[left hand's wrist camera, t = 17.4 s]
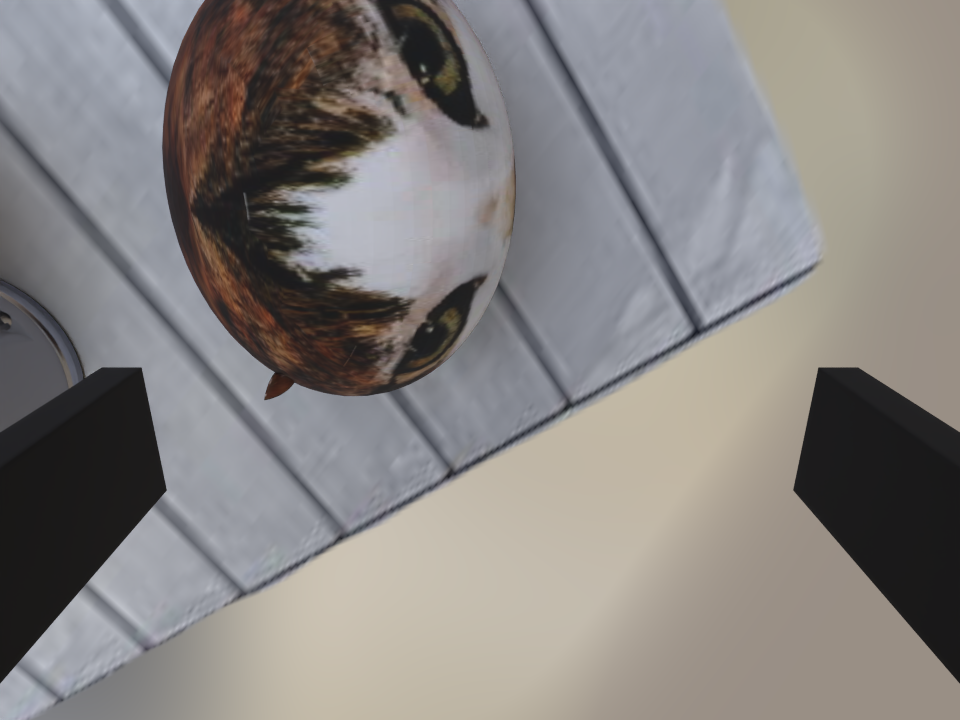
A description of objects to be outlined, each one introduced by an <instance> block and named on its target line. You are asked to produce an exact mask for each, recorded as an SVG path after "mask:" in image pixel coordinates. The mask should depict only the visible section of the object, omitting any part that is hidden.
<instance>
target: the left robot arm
mask: <svg viewBox="0 0 960 720" xmlns="http://www.w3.org/2000/svg"><path fill="white" fill-rule="evenodd" d="M166 490H167V489H166V484H165V480H164V475H163V470H162V465H161V460H160V455H159V450H158V446H157V441H156V436H155V431H154V426H153V421H152V416H151V412H150V407H149V402H148V397H147V392H146V387H145V382H144V378H143V373H142V368H101V369H99V370H97V371H96V372H94V373H93V374H91V375H90V376H88V377H86V378H85V379H83V373H82V369H81V366H80V362H79V360H78V357H77V355H76V352H75V350H74V348H73V346H72V344H71V342H70V341H69V339H68V337H67V336H66V334H65V333H64V331H63V330H62V329H61V327H60V326H59V325H58V323H57V322H56V321H55V320H54V319H53V317H52V316H51V315H50V314H49V313H48V312H47V311H46V310H45V309H44V308H43V307H41V306H40V305H39V304H38V303H37V302H36V301H34V300H33V299H32V298H30V297H29V296H28V295H26V294H25V293H23V292H22V291H20V290H19V289H17V288H16V287H14V286H12V285H10V284H8V283H6V282H4V281H2V280H0V683H1V682H2V681H3V680H4V678H5V677H6V676H7V675H8V674H9V673H10V671H11V670H12V669H13V668H14V667H15V666H16V664H17V663H18V662H19V661H20V660H21V659H22V658H23V656H24V655H25V654H26V653H27V652H28V651H29V649H30V648H31V647H32V646H33V645H34V644H35V642H36V641H37V640H38V639H39V638H40V637H41V635H42V634H43V633H44V632H45V631H46V630H47V629H48V627H49V626H50V625H51V624H52V623H53V622H54V620H55V619H56V618H57V617H58V616H59V615H60V613H61V612H62V611H63V610H64V609H65V608H66V606H67V605H68V604H69V603H70V602H71V601H72V600H73V598H74V597H75V596H76V595H77V594H78V593H79V591H80V590H81V589H82V588H83V587H84V586H85V584H86V583H87V582H88V581H89V580H90V579H91V577H92V576H93V575H94V574H95V573H96V572H97V571H98V569H99V568H100V567H101V566H102V565H103V564H104V562H105V561H106V560H107V559H108V558H109V557H110V555H111V554H112V553H113V552H114V551H115V550H116V548H117V547H118V546H119V545H120V544H121V543H122V542H123V540H124V539H125V538H126V537H127V536H128V535H129V533H130V532H131V531H132V530H133V529H134V528H135V526H136V525H137V524H138V523H139V522H140V521H141V519H142V518H143V517H144V516H145V515H146V514H147V512H148V511H149V510H150V509H151V508H152V507H153V506H154V504H155V503H156V502H157V501H158V500H159V499H160V497H161V496H162V495H163V494H164V493H165V492H166ZM793 490H794V492H795V493H796V494H797V495H798V496H799V497H800V499H801V500H802V501H803V502H804V503H805V504H806V506H807V507H808V508H809V509H810V510H811V511H812V512H813V514H814V515H815V516H816V517H817V518H818V519H819V521H820V522H821V523H822V524H823V525H824V526H825V528H826V529H827V530H828V531H829V532H830V533H831V535H832V536H833V537H834V538H835V539H836V540H837V542H838V543H839V544H840V545H841V546H842V547H843V548H844V550H845V551H846V552H847V553H848V554H849V555H850V557H851V558H852V559H853V560H854V561H855V562H856V563H857V565H858V566H859V567H860V568H861V569H862V571H863V572H864V573H865V574H866V575H867V576H868V577H869V579H870V580H871V581H872V582H873V583H874V584H875V586H876V587H877V588H878V589H879V590H880V591H881V593H882V594H883V595H884V596H885V597H886V598H887V600H888V601H889V602H890V603H891V604H892V605H893V606H894V608H895V609H896V610H897V611H898V612H899V613H900V615H901V616H902V617H903V618H904V619H905V620H906V622H907V623H908V624H909V625H910V626H911V627H912V628H913V630H914V631H915V632H916V633H917V634H918V635H919V637H920V638H921V639H922V640H923V641H924V642H925V644H926V645H927V646H928V647H929V648H930V649H931V650H932V652H933V653H934V654H935V655H936V656H937V658H938V659H939V660H940V661H941V662H942V663H943V664H944V666H945V667H946V668H947V669H948V670H949V671H950V673H951V674H952V675H953V676H954V677H955V678H956V680H957V681H958V682H959V683H960V432H958V431H957V430H955V429H954V428H952V427H950V426H949V425H947V424H946V423H944V422H943V421H941V420H939V419H938V418H936V417H935V416H933V415H932V414H930V413H929V412H927V411H925V410H924V409H922V408H921V407H919V406H918V405H916V404H914V403H913V402H911V401H910V400H908V399H907V398H905V397H903V396H902V395H900V394H899V393H897V392H896V391H894V390H892V389H891V388H889V387H888V386H886V385H885V384H883V383H881V382H880V381H878V380H877V379H875V378H874V377H872V376H870V375H869V374H867V373H866V372H864V371H863V370H861V369H859V368H818V373H817V378H816V382H815V387H814V392H813V397H812V402H811V407H810V412H809V416H808V421H807V426H806V431H805V436H804V441H803V446H802V450H801V455H800V460H799V465H798V470H797V475H796V480H795V484H794V489H793Z"/></svg>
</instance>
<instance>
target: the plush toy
mask: <svg viewBox="0 0 960 720" xmlns="http://www.w3.org/2000/svg"><path fill="white" fill-rule="evenodd" d="M162 149H163V169H164V178H165V186H166V193H167V199H168V204H169V209H170V214H171V218H172V222H173V225H174V229H175V232H176V235H177V239H178V242H179V245H180V248H181V250H182V253H183V256H184V258H185V261H186V264H187V266H188V268H189V270H190V272H191V274H192V276H193V279H194V281H195V283H196V284H197V286H198V288H199V290H200V292H201V293H202V295H203V297H204V298H205V300H206V302H207V303H208V305H209V307H210V308H211V310H212V311H213V312H214V314H215V315H216V316H217V318H218V319H219V321H220V322H221V323H222V324H223V326H224V327H225V328H226V329H227V331H228V332H229V333H230V334H231V335H232V336H233V337H234V339H235V340H236V341H237V342H238V343H239V344H240V345H241V346H243V347H244V348H245V349H246V350H247V351H248V352H249V353H250V354H251V355H252V356H253V357H255V358H256V359H257V360H258V361H260V362H261V363H262V364H264V365H265V366H266V367H268V368H269V369H271V370H272V371H274V372H275V373H274V375H273V376H272V378H271V380H270V382H269V384H268V387H267V390H266V393H265V399H264V400H268V399H271V398H274V397H277V396H279V395H281V394H283V393H284V392H286V391H287V390H288V389H289V388H290V387H291V386H292V385H293V384H294V383H297V384H299V385H301V386H304V387H306V388H309V389H312V390H316V391H319V392H323V393H328V394H334V395H342V396H368V395H374V394H380V393H385V392H390V391H393V390H395V389H398V388H401V387H404V386H406V385H409V384H411V383H413V382H415V381H417V380H419V379H421V378H422V377H424V376H426V375H427V374H429V373H431V372H432V371H433V370H435V369H436V368H437V367H439V366H440V365H441V364H442V363H444V362H445V361H446V360H447V359H448V358H449V357H450V356H451V355H452V354H453V353H454V352H455V351H456V350H457V349H458V348H459V347H460V346H461V345H462V344H463V343H464V342H465V340H466V339H467V338H468V336H469V335H470V334H471V332H472V331H473V329H474V328H475V327H476V325H477V324H478V322H479V321H480V319H481V317H482V316H483V314H484V312H485V310H486V309H487V307H488V305H489V303H490V301H491V299H492V296H493V294H494V292H495V290H496V288H497V285H498V282H499V280H500V277H501V274H502V271H503V268H504V264H505V261H506V257H507V253H508V249H509V245H510V240H511V235H512V229H513V221H514V213H515V197H516V174H515V157H514V149H513V141H512V134H511V129H510V124H509V119H508V115H507V111H506V107H505V103H504V99H503V96H502V93H501V90H500V87H499V84H498V81H497V79H496V76H495V74H494V71H493V69H492V66H491V64H490V61H489V59H488V57H487V55H486V53H485V51H484V49H483V47H482V45H481V43H480V41H479V39H478V38H477V36H476V35H475V33H474V31H473V30H472V28H471V27H470V25H469V23H468V22H467V20H466V19H465V17H464V15H463V14H462V13H461V12H460V10H459V9H458V8H457V6H456V5H455V4H454V3H453V1H452V0H205V1H204V2H203V4H202V5H201V7H200V8H199V10H198V11H197V13H196V15H195V17H194V19H193V21H192V22H191V24H190V26H189V28H188V30H187V32H186V34H185V36H184V38H183V40H182V43H181V46H180V49H179V52H178V54H177V57H176V60H175V63H174V66H173V70H172V74H171V78H170V82H169V87H168V91H167V97H166V103H165V112H164V123H163V145H162Z"/></svg>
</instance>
